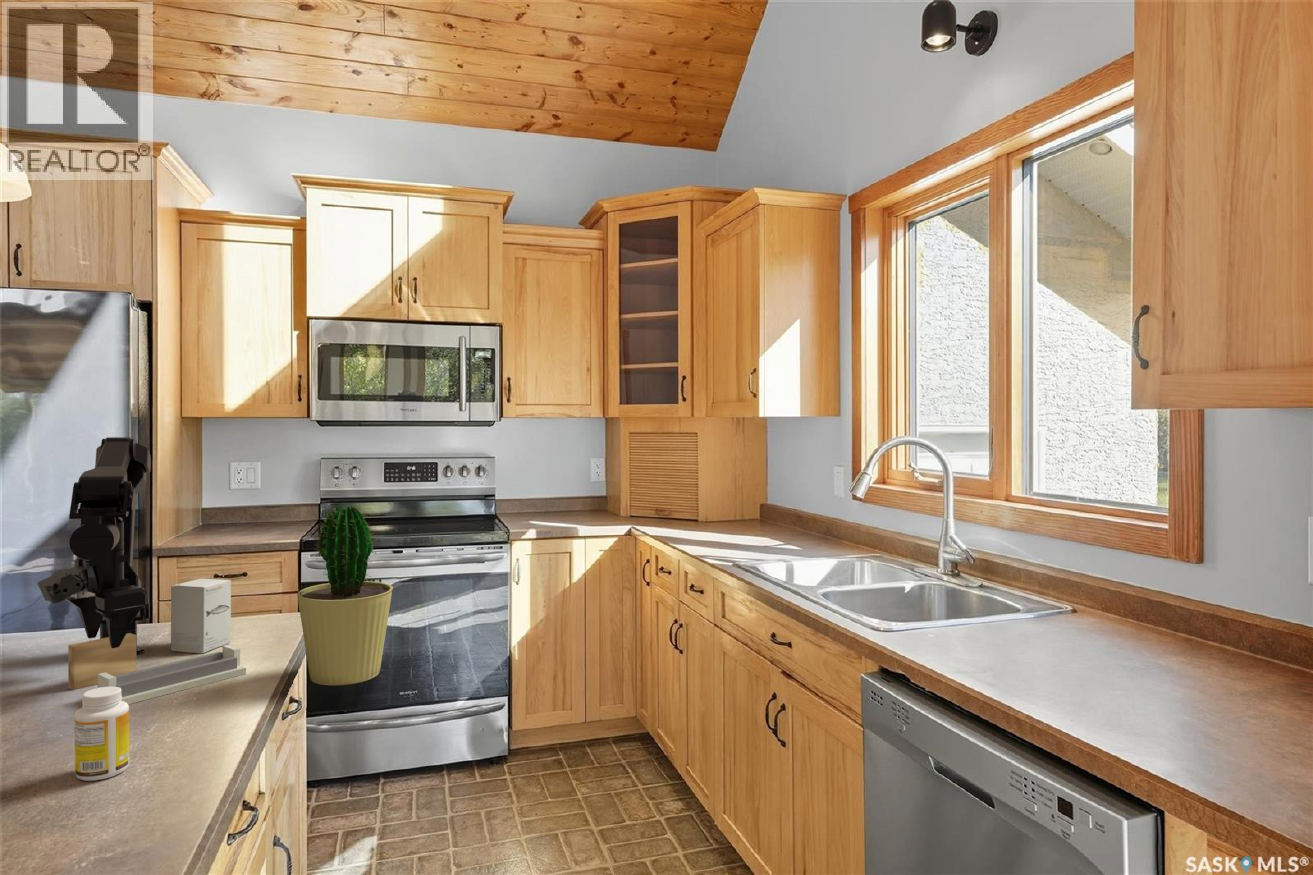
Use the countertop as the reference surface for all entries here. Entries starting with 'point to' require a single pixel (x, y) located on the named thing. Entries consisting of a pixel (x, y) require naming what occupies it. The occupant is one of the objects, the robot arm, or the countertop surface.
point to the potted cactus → (345, 605)
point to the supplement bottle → (101, 735)
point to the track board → (175, 675)
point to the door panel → (99, 660)
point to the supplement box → (200, 615)
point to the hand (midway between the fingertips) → (103, 642)
